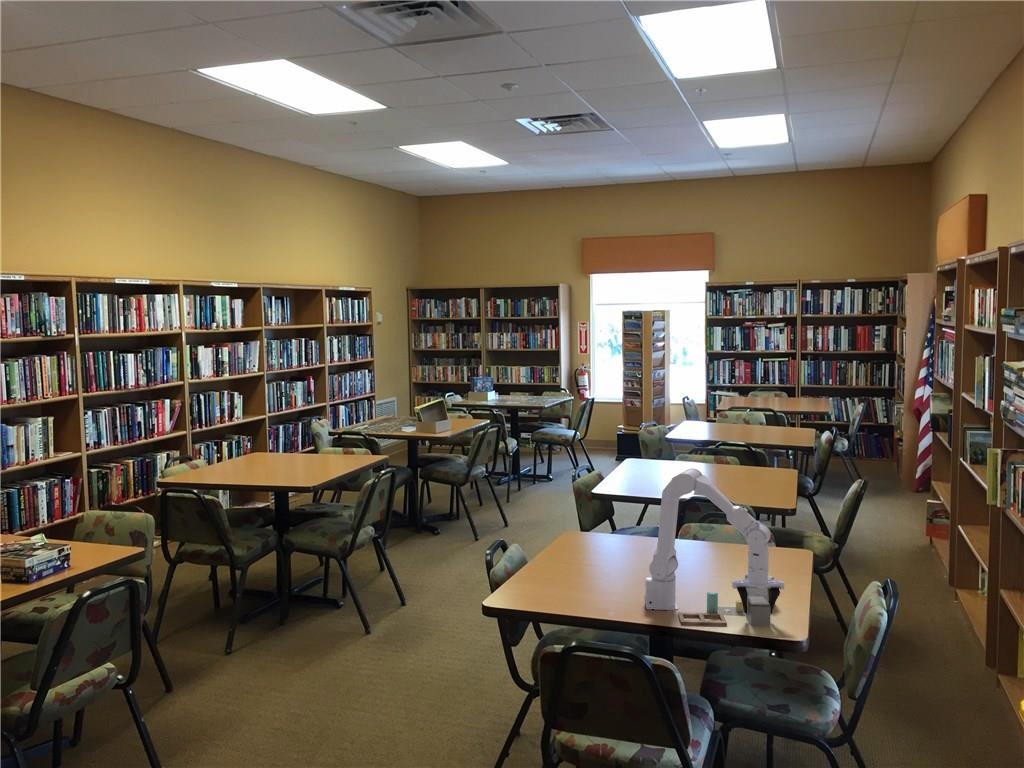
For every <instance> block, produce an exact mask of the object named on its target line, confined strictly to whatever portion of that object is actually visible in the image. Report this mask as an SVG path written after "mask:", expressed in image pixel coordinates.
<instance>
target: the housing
mask: <svg viewBox="0 0 1024 768" xmlns="http://www.w3.org/2000/svg"><path fill="white" fill-rule="evenodd" d="M771 616H772V614H771V605H770V604H769V602H768V601H767V599H766V598H765V596H747V613H746V616H745V618H746V619H747V622H748V623H749V625H750V626H751V627H762V628H763V627H768V628H769V627H771Z"/></svg>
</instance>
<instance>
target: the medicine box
mask: <svg viewBox="0 0 1024 768" xmlns="http://www.w3.org/2000/svg"><path fill="white" fill-rule="evenodd" d="M744 579H748V573H746V574H744ZM768 580H775V576H773V575H769V574H768ZM746 589H747V593H748V596H765V598H766V599H767V601H768V600H769V598H768V588H746Z"/></svg>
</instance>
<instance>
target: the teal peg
mask: <svg viewBox="0 0 1024 768" xmlns="http://www.w3.org/2000/svg"><path fill="white" fill-rule="evenodd" d="M718 607H719V593H718V592H717V591H710V590H709V591H707V592H706V613H719V611H718Z"/></svg>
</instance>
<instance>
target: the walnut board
mask: <svg viewBox="0 0 1024 768" xmlns="http://www.w3.org/2000/svg"><path fill="white" fill-rule="evenodd" d="M677 616H678V620H679V623H680V625H681V626H704V627H705V626H710V627H711V626H713V627H715V626H716V627H727V626H728V623H727V619H726V617H725V615H723V613H719V612H718V613H708V612H682V611H681V612H677ZM685 618H693V619H692V620H690V619H685ZM694 618H695V619H696V618H699V620H697V619H696V620H694ZM706 619H719V620H706Z"/></svg>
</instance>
